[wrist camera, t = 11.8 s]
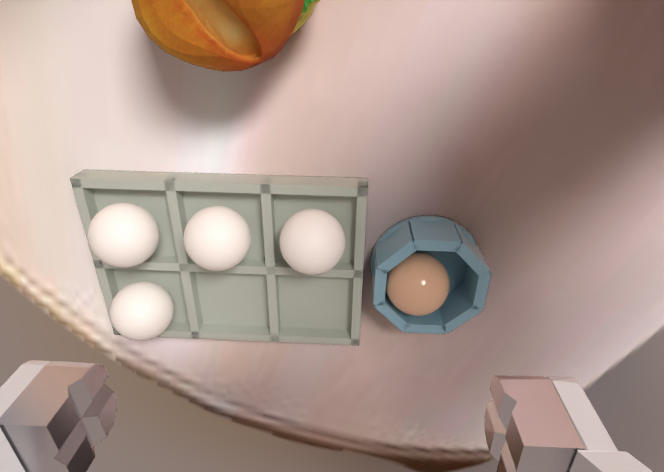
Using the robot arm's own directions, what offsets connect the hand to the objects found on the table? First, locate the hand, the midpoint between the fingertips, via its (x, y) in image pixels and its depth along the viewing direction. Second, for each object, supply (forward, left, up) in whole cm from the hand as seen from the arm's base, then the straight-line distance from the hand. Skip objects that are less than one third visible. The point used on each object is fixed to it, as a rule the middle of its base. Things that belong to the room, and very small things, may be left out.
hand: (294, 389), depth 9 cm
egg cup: (-7, +11, -23) cm, 27 cm away
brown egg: (-7, +11, -22) cm, 26 cm away
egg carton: (+8, +11, -23) cm, 27 cm away
